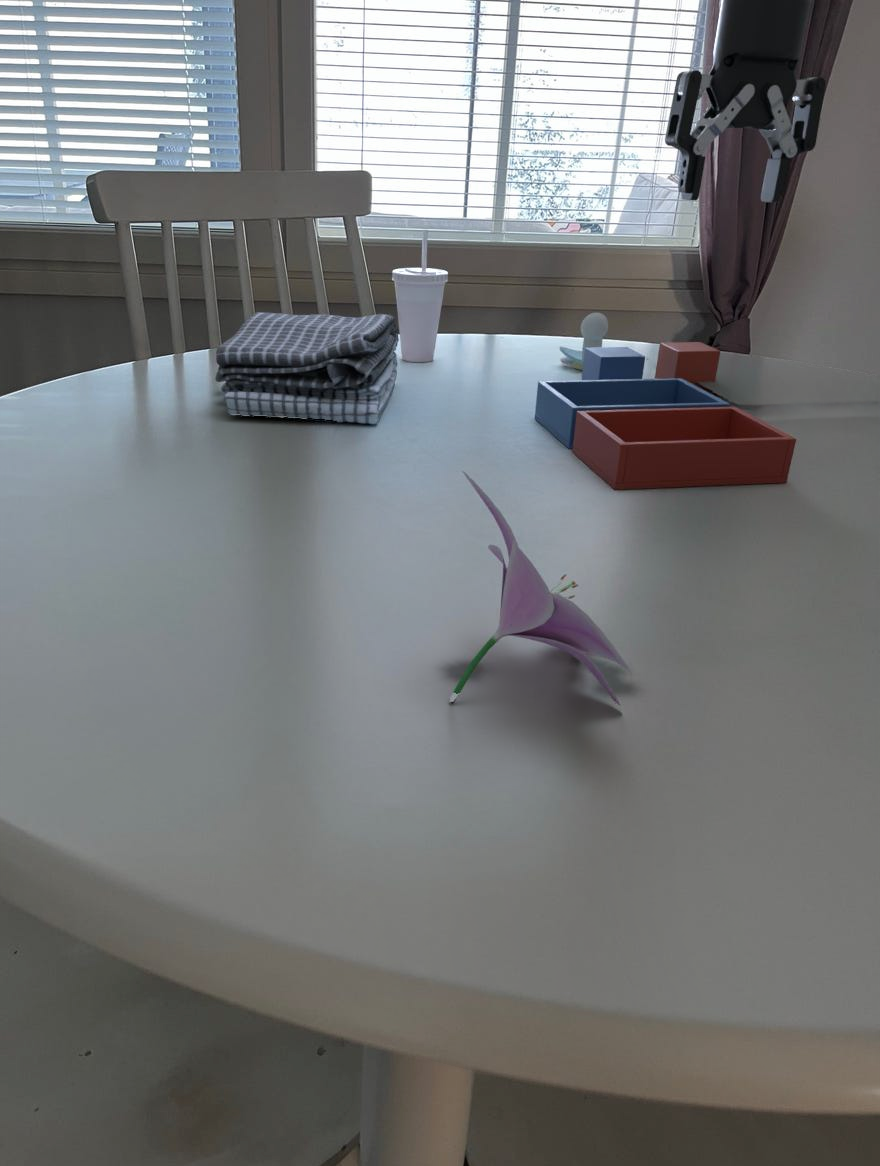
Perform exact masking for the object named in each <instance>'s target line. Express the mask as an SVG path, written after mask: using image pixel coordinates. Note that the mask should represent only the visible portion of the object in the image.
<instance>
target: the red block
mask: <svg viewBox="0 0 880 1166" xmlns="http://www.w3.org/2000/svg"><path fill="white" fill-rule="evenodd" d="M657 353H658V354H657V360H656V366H655V374H654V379H670V378H675V379H676V378H682V379H684V380H686V381H687V382H689V383H691V384H693V385H695V386H697V387H699V388H701V389H703V390H704V391H706V392H708V393H710V394H712V395H714V390H712V389H710V388H708V387H706V386H704V385H702V384H700V383H705V382H706V383H711V382H712V383H713V382H714V383H715V382H716V380H717V379H716V378H717V374H718V367H719V362H720V356H721V350H719V349H717V348H714V347H712V346H710V345H707V344H705V343H703V342H701V341H682V342H681V341H678V342H677V341H676V342H675V341H674V342H672V341H671V342H670V341H669V342H660V343H659V347H658V352H657Z"/></svg>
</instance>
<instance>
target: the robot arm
mask: <svg viewBox="0 0 880 1166" xmlns="http://www.w3.org/2000/svg"><path fill="white" fill-rule="evenodd" d="M812 1H813V0H721V3H720V9H719V16H718V22H717V27H716V34H715V41H714V47H713V54H712V55H713V65H712V67H711V70H710V71H709V73H708V74H704V73H702V72H701V71H700V70H687V71H685V70H684V71H680V73H678V75H677V76H676V80H675V86H674V91H673V96H672V99H671V100H672V101H671V106H670V110H669V111H670V112H669V115H668V122H667V127H666V130H665V131H666V132H665V136H664V142H665V144H666V145H667V146H668V147H672V148H674V149H676V150H678V151H679V152H680V153H681V157H682V158H681V163H680V169H679V176H678V183H677V191H678V193H680V198H681V200H685V201H698V199H699V198H700V193H701V186H702V182H703V175H704V169H705V163H706V156H703V154H704V152H705V151H706V150H707V149H708V148H709V146H710V145H711V144H712V143H713V141H714V140H715V139H716V138H717V137H719V136H720V135H721V134H722V133H723V132H724V131H725V130H727V129H744V130H758V131H759V133H760V136H762V137H763V138H764V140H765V141H766V143H767V146H768V149H769V152H770V153H771V155H772V158H767V162H766V169H765V173H764V178H763V184H762V189H761V194H760V201H761V202H764V203H778V202H779V201H780V200H781V197H783V196H784V194H785V192H786V190H787V184H788V181H789V175H790V172H791V171H790V170H791V166H792V162H793V160H794V158H795V157H796V156H797V155H799V154H802V153H804V152H811V151H813V150H814V149H815V148H816V146H817V145H816V144H817V139H818V132H819V127H820V120H821V114H822V108H823V104H824V103H823V102H824V97H825V90H826V85H827V84H826V83H827V82H826V79H825V78H824V77H821V76H820V77H816V76H815V77H807V78H801V79H797V76H796V67H797V63H798V61H799V59H800V57H801V55H802V51H803V45H804V40H805V35H806V30H807V26H808V22H809V15H810V11H811V5H812ZM704 92H705V93H706V95H707V99H708V100H709V103H710V105H709V106H708V107H707V108H706V109H705V111H704V112H703V113H702V115H701V116H700V117H699V118H698V120H697V121H696V122H695V125H694V128H693V123H694V119H695V113H696V110H697V104H698V101H699V100H700V99H701V98H702V97H703V95H704ZM791 98H792V101H793V104H794V105H795V106H794V113H793V118H792V122H791V119H790V116H789V114H788V111H787V108H786V106H785V105H786V104H787V103H788V101H790V99H791ZM692 128H693V130H692Z"/></svg>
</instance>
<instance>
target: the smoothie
mask: <svg viewBox="0 0 880 1166" xmlns="http://www.w3.org/2000/svg"><path fill="white" fill-rule="evenodd" d="M428 235H429V230H428V229H422V239H421V241H422V242H421V267H403V268H401V267H400V268H396V269H393V270H392V272H391V273H392V275H391V276H392V278H391V281H393V282H394V288H395V299H396V311H397V321H398V330H399V331H398V334H399V342H400V353H401V360H403V361H406V362H410V363H429V362H433V360H434V357H435V350H436V343H437V338H438V332H439V325H440V320H441V319H440V318H441V312H442V305H443V301H444V300H443V299H444V293H445V285H446V283H448V282H449V279H448V277H449V272H448V271H446V270H443V269H440V268H431V267H430V268H429V267H428V268H427V264H428Z"/></svg>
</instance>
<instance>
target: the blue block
mask: <svg viewBox="0 0 880 1166" xmlns="http://www.w3.org/2000/svg"><path fill="white" fill-rule="evenodd" d="M645 361H646V356H645V355H643V354H641V353H640V352H638V351H636V350H634V349H633V348H630V347H628V346H608V347H607V346H602V347H595V348H585V353H584V362H583V370H581V380H622V379H643V376H644V369H645V363H646V362H645Z"/></svg>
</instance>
